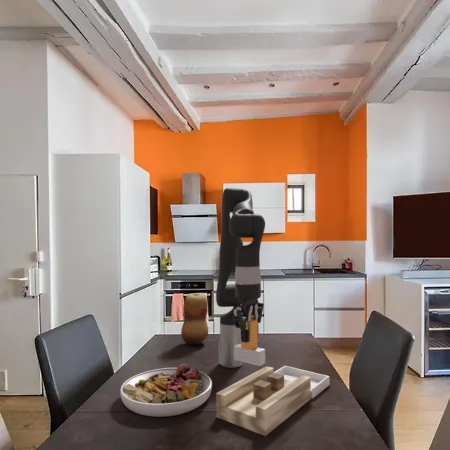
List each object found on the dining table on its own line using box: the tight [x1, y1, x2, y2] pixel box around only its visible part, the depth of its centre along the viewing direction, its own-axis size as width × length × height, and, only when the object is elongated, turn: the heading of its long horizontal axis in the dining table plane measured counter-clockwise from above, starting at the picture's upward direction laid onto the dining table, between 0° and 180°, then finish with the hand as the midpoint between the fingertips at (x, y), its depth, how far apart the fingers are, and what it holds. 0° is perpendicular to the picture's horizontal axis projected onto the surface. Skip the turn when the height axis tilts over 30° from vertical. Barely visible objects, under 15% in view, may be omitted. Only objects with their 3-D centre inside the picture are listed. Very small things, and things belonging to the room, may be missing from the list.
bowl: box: [120, 362, 213, 417], centre depth 121 cm, size 30×30×8 cm
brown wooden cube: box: [253, 380, 271, 401], centre depth 112 cm, size 4×4×4 cm
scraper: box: [234, 319, 266, 367], centre depth 106 cm, size 9×4×12 cm, turn 52°
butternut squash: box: [180, 292, 209, 345], centre depth 182 cm, size 14×13×25 cm
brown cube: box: [267, 371, 284, 392], centre depth 118 cm, size 4×4×4 cm
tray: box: [274, 365, 330, 399], centre depth 130 cm, size 18×14×3 cm
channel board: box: [215, 366, 312, 437], centre depth 113 cm, size 17×28×7 cm, turn 142°
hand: (248, 340), depth 106 cm, fingers closed on scraper, 3 cm apart
